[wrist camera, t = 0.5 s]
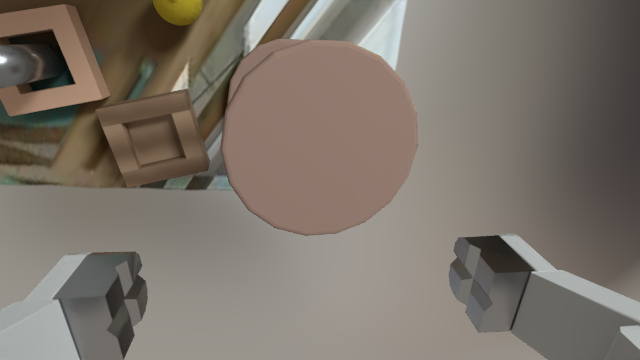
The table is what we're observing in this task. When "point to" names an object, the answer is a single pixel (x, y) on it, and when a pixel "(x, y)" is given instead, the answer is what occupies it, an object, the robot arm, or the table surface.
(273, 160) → the hourglass
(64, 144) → the table surface
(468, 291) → the robot arm
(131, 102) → the square peg hole block
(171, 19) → the lemon
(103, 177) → the table surface
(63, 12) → the socket collar
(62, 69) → the steel peg
